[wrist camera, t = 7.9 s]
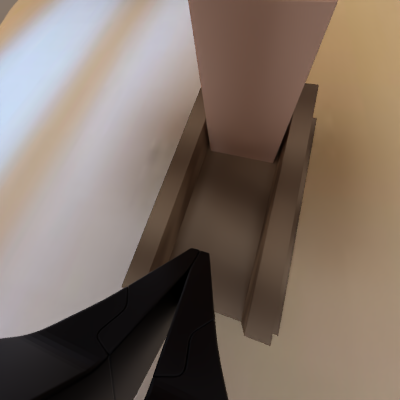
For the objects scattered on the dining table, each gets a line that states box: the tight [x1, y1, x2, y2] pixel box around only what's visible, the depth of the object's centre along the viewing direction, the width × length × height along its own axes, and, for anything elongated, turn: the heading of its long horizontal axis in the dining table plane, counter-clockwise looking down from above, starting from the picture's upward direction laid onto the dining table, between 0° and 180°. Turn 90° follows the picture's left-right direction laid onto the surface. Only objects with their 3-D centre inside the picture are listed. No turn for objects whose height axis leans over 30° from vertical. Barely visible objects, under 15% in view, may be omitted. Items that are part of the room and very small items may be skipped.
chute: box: [122, 83, 318, 346], centre depth 14 cm, size 16×10×4 cm, turn 162°
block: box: [188, 0, 338, 163], centre depth 12 cm, size 5×5×10 cm
